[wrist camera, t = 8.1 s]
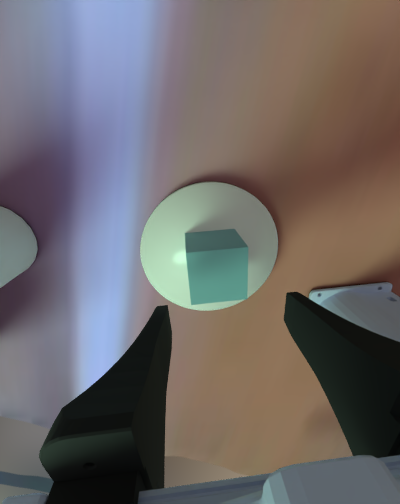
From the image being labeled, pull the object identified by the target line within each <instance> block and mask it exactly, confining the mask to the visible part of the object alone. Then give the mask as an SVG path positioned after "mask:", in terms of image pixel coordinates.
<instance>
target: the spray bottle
mask: <svg viewBox="0 0 400 504" xmlns="http://www.w3.org/2000/svg"><path fill="white" fill-rule="evenodd" d="M37 250H38V248H37V241H36V237H35V235H34V233H33V231H32V229H31V228H30V227H29V225H28V224H27V223H26V222H25V221H24V220H23V219H22V218H21V217H20V216H18V215H17V214H15V213H14V212H12V211H11V210H9V209H6V208H4V207H1V206H0V288H1V287H2V286H4V285H5V284H7V283H8V282H10V281H11V280H12V279H14V278H15V277H17V276H18V275H19V274H21V273H22V272H24V271H25V270H27V269H28V268H29V267H30V266H31V265H32V263H33V262H34V261H35V258H36V254H37Z"/></svg>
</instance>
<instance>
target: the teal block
mask: <svg viewBox="0 0 400 504" xmlns="http://www.w3.org/2000/svg"><path fill="white" fill-rule="evenodd" d="M185 249H186V261H187V270H188V280H189V289H190V299H191V305H196V304H206V303H215V302H225V301H234V300H244V299H247V291H248V246H247V244H246V243H245V242H244V241H243V239H242V238H241V237H240V235H239V234H238V233H237V231H236V230H235V229H225V230H214V231H203V232H192V233H185Z"/></svg>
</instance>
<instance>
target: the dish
mask: <svg viewBox="0 0 400 504" xmlns="http://www.w3.org/2000/svg"><path fill="white" fill-rule="evenodd" d="M225 229H235V230H236V231H237V233H238V234H239V235H240V237H241V238H242V239H243V241H244V242H245V243H246V244H247V246H248V291H247V298H248V297H249V296H251V295H252V294H253V293H254V292H256V291H257V290H258V289H259V288H260V287H261V286H262V285H263V283H264V282H265V281H266V279H267V278H268V276H269V274H270V273H271V271H272V269H273V266H274V264H275V260H276V257H277V251H278V236H277V230H276V227H275V223H274V221H273V219H272V217H271V215H270V213H269V212H268V210H267V208H266V207H265V206H264V205H263V204H262V203H261V202H260V201H259V200H258V199H257V198H256V197H255V196H253V195H252V194H250V193H248V192H247V191H245V190H243V189H241V188H239V187H236V186H234V185H231V184H227V183H223V182H215V181H212V182H199V183H194V184H191V185H187V186H185V187H182V188H180V189H178V190H176V191H175V192H173V193H171V194H170V195H169V196H167V197H166V198H165V199H164V200H163V201H162V202H161V203H160V204H159V205H158V206H157V207H156V208H155V210H154V211H153V213H152V214H151V216H150V218H149V219H148V221H147V224H146V226H145V228H144V231H143V234H142V239H141V247H140V254H141V262H142V265H143V269H144V271H145V274H146V276H147V278H148V279H149V281H150V283H151V284H152V285H153V287H154V288H155V289H156V290H157V291H158V292H159V293H160V294H161V295H162V296H164V297H165V298H166V299H168V300H169V301H171V302H173V303H175V304H177V305H180V306H182V307H185V308H189V309H194V310H205V311H206V310H217V309H223V308H226V307H230V306H232V305H235V304H237V303H239V302H241V301H243V300H234V301H225V302H215V303H206V304H196V305H191V299H190V289H189V280H188V270H187V261H186V249H185V233H192V232H203V231H214V230H225ZM244 300H245V299H244Z"/></svg>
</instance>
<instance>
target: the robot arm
mask: <svg viewBox="0 0 400 504" xmlns="http://www.w3.org/2000/svg"><path fill="white" fill-rule="evenodd" d="M392 286H393V285H392V284H391V283H389V282H384V283H374V284H365V285H356V286H346V287H337V288H328V289H318V290H312V291H311V292H310V294H309V298H307V297H305V296H304V295H302V294H300V293H298V292H290V293H287V295H286V304H285V314H284V321H285V323H286V326H287V328H288V330H289V332H290V334H291V336H292V338H293V339H294V341H295V343H296V344H297V346H298V347H299V349H300V351H301V352H302V354H303V355H304V357H305V358H306V360H307V362H308V363H309V365H310V366H311V368H312V369H313V371H314V373H315V375H316V376H317V378H318V380H319V382H320V384H321V386H322V388H323V390H324V392H325V394H326V396H327V398H328V400H329V402H330V404H331V406H332V409H333V411H334V413H335V415H336V417H337V419H338V422H339V424H340V426H341V428H342V431H343V433H344V435H345V437H346V440H347V442H348V444H349V447H350V449H351V452H352V454H353V456H351V457H343V458H336V459H329V460H322V461H315V462H307V463H300V464H293V465H290V466H286V467H283V468H280V469H278V470H276V471H275V472H273V473H268V474H261V475H254V476H247V477H240V478H233V479H226V480H219V481H211V482H205V483H198V484H190V485H183V486H176V487H169V488H164V455H165V412H166V391H167V382H168V374H169V366H170V358H171V349H172V330H171V324H170V318H169V311H168V305H165V306H157V307H156V308H155V310H154V312H153V314H152V316H151V317H150V319H149V321H148V322H147V324H146V325H145V327H144V328H143V330H142V331H141V333H140V334H139V336H138V337H137V338H136V340H135V341H134V342H133V344H132V345H131V346H130V348H129V349H128V350H127V351H126V352H125V354H124V355H123V356H122V357H121V358H120V359H119V360H118V361H117V362H116V363H115V364H114V365H113V366H112V367H111V368H110V369H109V370H108V371H107V372H106V373H105V374H104V375H103V376H102V377H101V378H100V379H99V380H98V381H96V382H95V383H94V384H93V385H92V386H91V387H89V388H88V389H87V390H86V391H84V392H83V393H82V394H81V395H79V396H78V397H77V398H75V399H74V400H73V401H71V402H70V403H69V404H67V405H66V406H64V407H63V408H62V409H61V411H60V413H59V414H58V416H57V418H56V419H55V421H54V423H53V425H52V427H51V429H50V431H49V433H48V435H47V438H46V440H45V442H44V444H43V446H42V448H41V450H40V454H39V458H40V461H41V463H42V465H43V466H44V468H45V470H46V471H47V472H48V474H49V475H50V477H51V478H52V480H53V481H54V483H53V486H52V488H51V491H50V493H49V496H48V495H47V494H44V493H33V494H26V495H19V496H12V497H7V498H6V499H4V500H3V502H2V504H400V297H399V296H397V295H396V294H394V293H393V292H391V290H392ZM319 293H320V294H319ZM318 294H319V295H318Z"/></svg>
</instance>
